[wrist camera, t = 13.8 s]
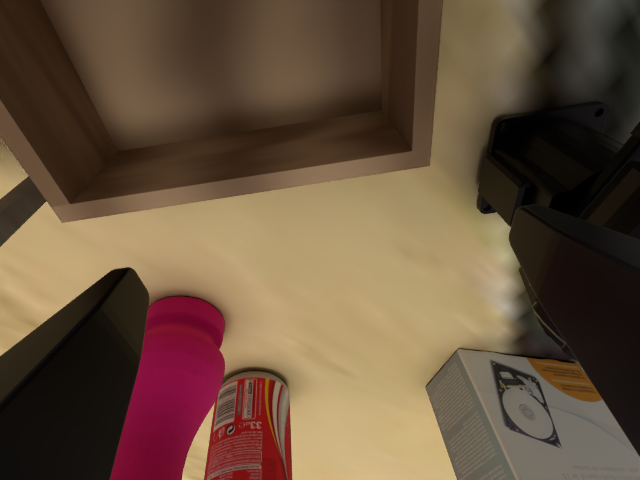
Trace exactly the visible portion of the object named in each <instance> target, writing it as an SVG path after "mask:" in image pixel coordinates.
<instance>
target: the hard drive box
mask: <svg viewBox="0 0 640 480" xmlns="http://www.w3.org/2000/svg"><path fill="white" fill-rule="evenodd" d="M426 390H427V393H428V396H429V399H430V402H431V405H432V408H433V411H434V413H435V416H436V419H437V422H438V425H439V428H440V431H441V434H442V437H443V440H444V443H445V446H446V449H447V452H448V455H449V458H450V461H451V463H452V466H453V469H454V472H455V475H456V478H457V480H640V457H639V455H638V454H637V452H636V450H635V449H634V447H633V446H632V444H631V443H630V441H629V440H628V438H627V437H626V435H625V433H624V432H623V430H622V429H621V427H620V426H619V424H618V423H617V421H616V420H615V418H614V416H613V415H612V413H611V412H610V410H609V409H608V407H607V406H606V404H605V403H604V401H603V399H602V398H601V396H600V395H599V393H598V392H597V390H596V389H595V387H594V386H593V384H592V382H591V381H590V379H589V378H588V376H587V375H586V374H585V372H584V371H583V370H582V368H581V367H580V366H579V364H574V363H566V362H560V361H557V360H552V359H534V358H527V357H518V356H511V355H503V354H498V353H495V352H487V351H473V350H464V349H458V350H457V351H456V352H455V354H454V355H453V356H452V357H451V358H450V360H449V361H448V362H447V363H446V364H445V365H444V367H443V368H442V369H441V370H440V371H439V372H438V374H437V375H436V376H435V377H434V378H433V380H432V381H431V382H430V383H429V384H428V385H427V387H426Z"/></svg>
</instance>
